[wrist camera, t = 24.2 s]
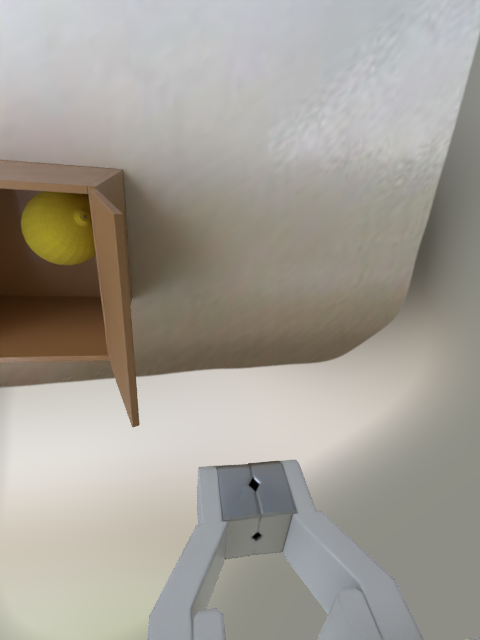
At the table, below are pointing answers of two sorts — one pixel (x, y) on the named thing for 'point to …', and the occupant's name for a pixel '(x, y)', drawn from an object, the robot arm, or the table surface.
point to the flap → (116, 297)
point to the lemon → (59, 227)
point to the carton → (51, 271)
